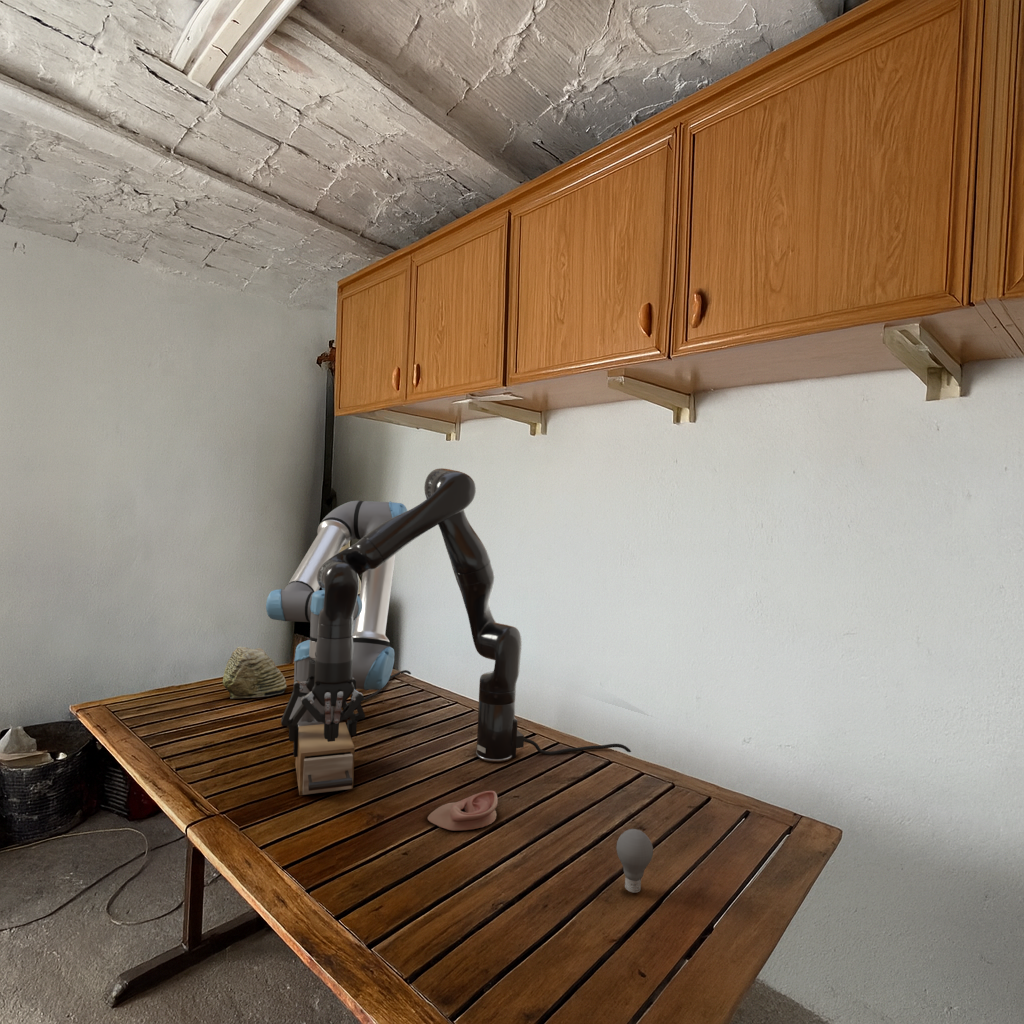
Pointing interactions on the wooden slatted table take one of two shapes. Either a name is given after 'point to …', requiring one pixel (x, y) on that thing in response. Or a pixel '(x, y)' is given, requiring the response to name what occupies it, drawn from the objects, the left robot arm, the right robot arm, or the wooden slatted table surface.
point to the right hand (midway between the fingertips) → (330, 740)
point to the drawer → (327, 773)
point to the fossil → (252, 674)
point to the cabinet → (320, 746)
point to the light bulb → (634, 857)
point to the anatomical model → (467, 812)
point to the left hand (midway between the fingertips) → (322, 751)
